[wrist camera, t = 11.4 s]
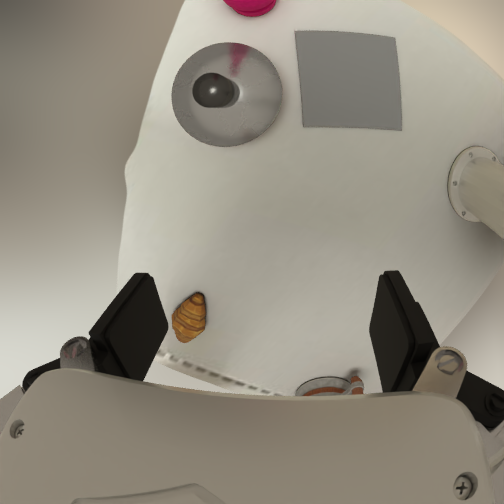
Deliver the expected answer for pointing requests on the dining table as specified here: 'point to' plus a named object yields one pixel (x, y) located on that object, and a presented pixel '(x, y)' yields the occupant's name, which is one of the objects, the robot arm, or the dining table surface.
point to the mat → (349, 80)
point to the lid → (226, 94)
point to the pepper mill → (251, 6)
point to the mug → (331, 387)
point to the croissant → (189, 318)
